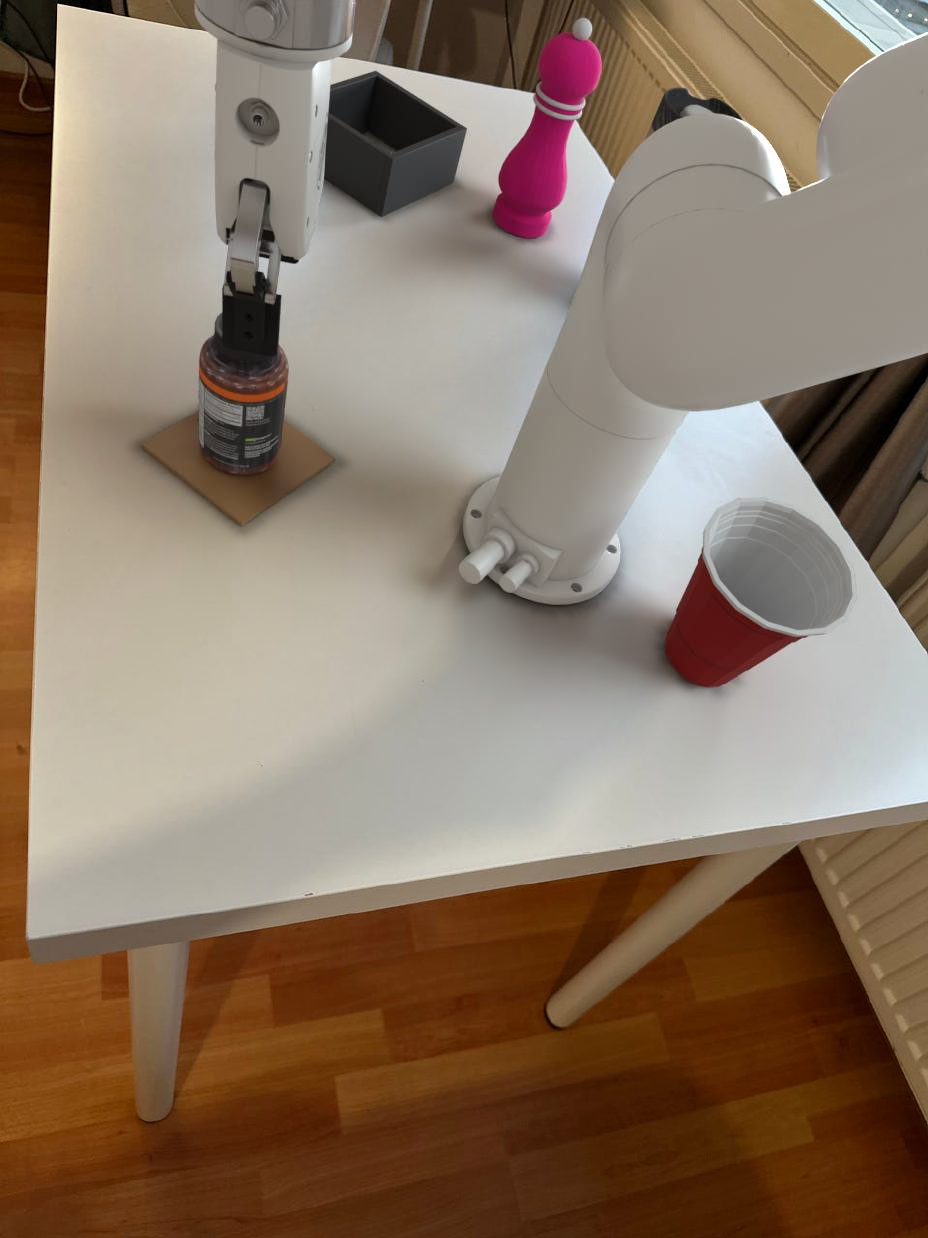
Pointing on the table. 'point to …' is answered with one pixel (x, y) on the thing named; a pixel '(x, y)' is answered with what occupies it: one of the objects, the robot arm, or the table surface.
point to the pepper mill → (547, 134)
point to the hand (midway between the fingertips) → (263, 301)
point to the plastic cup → (757, 590)
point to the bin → (402, 124)
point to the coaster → (237, 491)
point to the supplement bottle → (240, 406)
